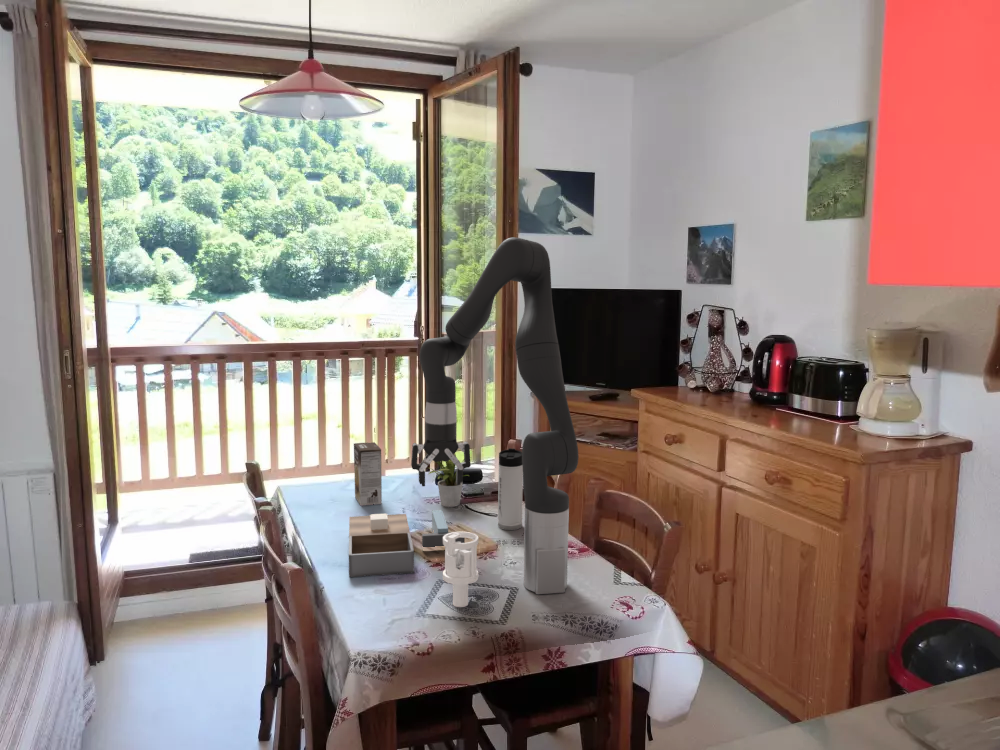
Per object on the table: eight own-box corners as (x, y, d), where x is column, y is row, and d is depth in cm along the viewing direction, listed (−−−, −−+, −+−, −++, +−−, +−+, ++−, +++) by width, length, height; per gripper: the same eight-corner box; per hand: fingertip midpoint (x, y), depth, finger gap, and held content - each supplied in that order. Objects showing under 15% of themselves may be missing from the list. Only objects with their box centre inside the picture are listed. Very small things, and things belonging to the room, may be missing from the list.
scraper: (464, 549, 183) (464, 529, 183) (422, 552, 182) (422, 531, 181) (456, 528, 199) (456, 509, 198) (417, 530, 197) (417, 511, 196)
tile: (387, 528, 182) (387, 518, 182) (370, 529, 182) (370, 519, 181) (387, 523, 186) (386, 513, 186) (370, 524, 185) (370, 514, 185)
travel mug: (522, 522, 203) (523, 448, 200) (521, 530, 197) (522, 454, 194) (499, 521, 204) (500, 447, 201) (496, 529, 197) (497, 453, 194)
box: (414, 573, 169) (413, 551, 168) (349, 577, 166) (348, 555, 166) (410, 553, 181) (410, 532, 180) (349, 556, 178) (349, 536, 177)
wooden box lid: (410, 553, 181) (410, 532, 180) (349, 556, 178) (349, 536, 177) (406, 533, 194) (406, 513, 193) (349, 536, 192) (349, 516, 191)
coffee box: (354, 497, 224) (353, 443, 222) (375, 495, 226) (375, 441, 224) (359, 506, 215) (358, 450, 213) (382, 504, 218) (381, 448, 215)
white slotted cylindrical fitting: (435, 605, 153) (435, 533, 151) (457, 593, 159) (457, 523, 157) (464, 614, 149) (464, 540, 147) (485, 601, 155) (485, 530, 153)
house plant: (414, 499, 222) (414, 444, 220) (458, 493, 228) (458, 439, 226) (433, 513, 210) (433, 455, 207) (479, 506, 216) (479, 450, 214)
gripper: (412, 423, 180) (412, 490, 183) (472, 422, 183) (472, 488, 185) (410, 417, 188) (410, 481, 190) (468, 416, 190) (467, 479, 192)
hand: (440, 484), depth 188 cm, fingers open, 8 cm apart
